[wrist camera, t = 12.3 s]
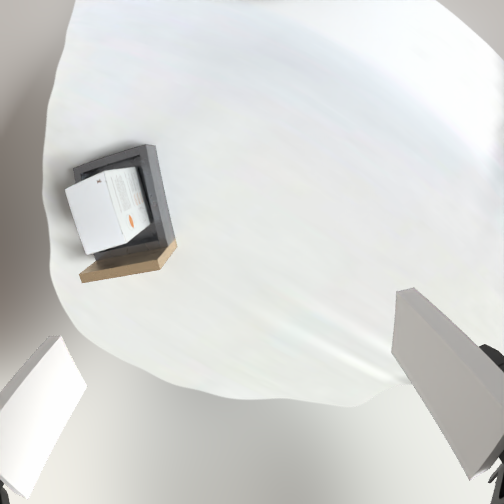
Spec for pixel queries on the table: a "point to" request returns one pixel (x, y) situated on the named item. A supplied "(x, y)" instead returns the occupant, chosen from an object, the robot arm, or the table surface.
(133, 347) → the table surface
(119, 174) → the small box
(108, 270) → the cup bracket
